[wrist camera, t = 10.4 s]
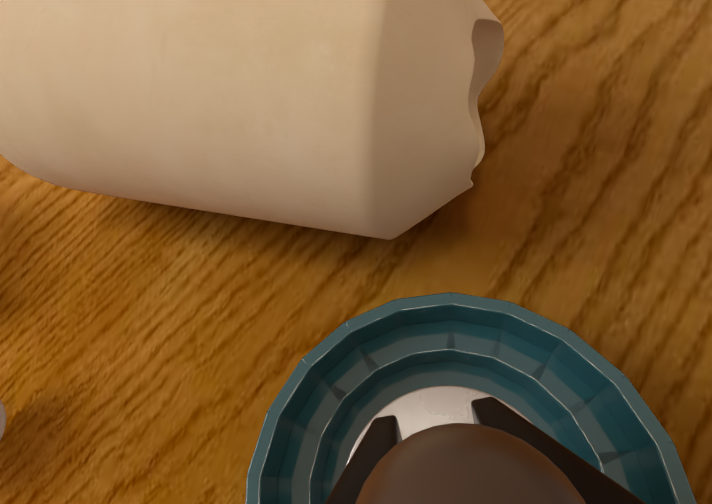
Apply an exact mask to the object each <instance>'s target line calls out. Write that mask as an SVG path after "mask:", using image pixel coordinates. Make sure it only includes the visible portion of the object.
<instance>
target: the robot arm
mask: <svg viewBox="0 0 712 504" xmlns="http://www.w3.org/2000/svg"><path fill="white" fill-rule="evenodd" d="M471 409H472V415H473V420H474V424H480V425H484V426H488V427H492V428H496V429H500V430H503V431H505V432H507V433H509V434H511V435H513V436H515V437H518V438H520V439H522V440H524V441H525V442H527V443H528V444H530V445H531V446H533V447H534V448H535V449H537V450H538V451H540V452H541V453H543V454H544V455H545V456H547V457H548V458H549V459H550V460H551V461H552V462H553V463H554V464H555V465H556V466H557V467H558V468H559V469H560V470H561V471H562V472H563V473H564V474H565V475H566V476H567V477H568V479H569V480H570V482H571V483H572V484H573V486H574V487H575V488H576V490H577V491H578V492H579V494H580V495H581V496H582V498H583V499H584V501H585V503H586V504H647V503H645V502H644V501H642V500H641V499H639V498H638V497H637V496H635V495H634V494H632V493H631V492H629V491H628V490H627V489H625V488H624V487H622V486H621V485H619V484H618V483H616V482H615V481H614V480H612V479H611V478H609V477H608V476H606V475H605V474H604V473H602V472H601V471H599V470H598V469H596V468H595V467H594V466H592V465H591V464H589V463H588V462H586V461H585V460H583V459H582V458H581V457H579V456H578V455H576V454H575V453H573V452H572V451H571V450H569V449H568V448H566V447H565V446H563V445H562V444H560V443H559V442H558V441H556V440H555V439H553V438H552V437H550V436H549V435H548V434H546V433H545V432H543V431H542V430H540V429H539V428H538V427H536V426H535V425H533V424H532V423H530V422H529V421H527V420H526V419H525V418H523V417H522V416H520V415H519V414H517V413H516V412H515V411H513V410H512V409H510V408H509V407H507V406H506V405H505V404H503V403H502V402H500V401H499V400H497V399H496V398H494V397H485V398H480V399H475V400H472V401H471ZM401 441H402V436H401V432H400V428H399V424H398V420H397V418H396V416H395V415H389V416H384V417H378V418H375V419H374V420H373V421H372V423H371V425H370V426H369V428H368V430H367V432H366V433H365V435H364V437H363V438H362V440H361V442H360V444H359V445H358V447H357V449H356V450H355V452H354V454H353V456H352V457H351V459H350V461H349V462H348V464H347V466H346V468H345V469H344V471H343V473H342V474H341V476H340V478H339V480H338V481H337V483H336V485H335V486H334V488H333V490H332V492H331V493H330V495H329V497H328V498H327V500H326V502H325V504H355V503H356V501H357V498H358V496H359V494H360V491H361V489H362V487H363V484H364V482H365V481H366V479H367V478H368V476H369V475H370V473H371V472H372V470H373V469H374V467H375V466H376V464H377V463H378V461H379V460H380V459H381V458H382V457H383V456H385V455H386V454H387V453H388V452H389V451H390V450H391V449H392V448H393V447H394V446H395V445H396V444H398V443H399V442H401Z"/></svg>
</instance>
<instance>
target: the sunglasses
mask: <svg viewBox="0 0 712 504" xmlns="http://www.w3.org/2000/svg"><path fill="white" fill-rule="evenodd" d="M5 425H6V411H5V407H4V405H3V403H2V402H1V400H0V440H1V438H2V436H3V433H4V429H5Z"/></svg>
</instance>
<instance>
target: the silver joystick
mask: <svg viewBox="0 0 712 504" xmlns="http://www.w3.org/2000/svg"><path fill="white" fill-rule="evenodd" d="M485 397H494V398H496V399H497V400H499V401H500V402H502V403H503V404H505V405H506V406H507V407H509V408H510V409H512V410H513V411H515V412H516V413H517V414H519V415H520V416H522V417H523V418H525V419H526V420H527V421H529V422H530V423H532V422H531V421H530V420H529V419H528V418H527V417H526V416H524V415H523V414H522V413H521V412H520V411H518V410H517V409H516V408H514V407H513V406H511V405H509V404H508V403H506V402H505V401H503V400H501V399H499V398H497V397H495V396H493V395H491V394H489V393H486V392H483V391H480V390H477V389H473V388H468V387H463V386H453V385H440V386H430V387H425V388H420V389H417V390H414V391H411V392H408V393H406V394H404V395H402V396H400V397H398V398H396V399H395V400H393V401H392V402H390V403H389V404H387V405H386V406H384V407H383V408H382V409H381V410H380V411H379V412H378V413H377V414H375V415H374V416H373V418H372V419H371V420H370V421H369V422H368V423H367V425H366V426H365V427H364V429H363V430H362V432H361V433H360V435H359V436H358V438H357V440H356V442H355V444H354V446H353V448H352V450H351V452H350V455H349V457H348V460H347V463H346V466H347V464H348V462H349V461H350V459H351V457H352V456H353V454H354V452H355V450H356V449H357V447H358V445H359V444H360V442H361V440H362V438H363V437H364V435H365V433H366V432H367V430H368V428H369V426H370V425H371V423H372V421H373V420H374V419H375V418H378V417H384V416H389V415H395V416H396V418H397V420H398V424H399V428H400V432H401V436H402V441H401V442H399V443H398V444H396V445H395V446H394V447H393V448H392V449H391V450H390V451H389V452H388V453H387V454H386V455H385V456H383V457H382V458H381V459H380V460H379V461H378V463H377V464H376V466H375V467H374V469H373V470H372V472H371V473H370V475H369V476H368V478H367V479H366V481H365V482H364V484H363V487H362V489H361V491H360V494H359V496H358V498H357V501H356V503H355V504H586V503H585V501H584V499H583V498H582V496H581V495H580V494H579V492H578V491H577V490H576V488H575V487H574V486H573V484H572V483H571V482H570V480H569V479H568V477H567V476H566V475H565V474H564V473H563V472H562V471H561V470H560V469H559V468H558V467H557V466H556V465H555V464H554V463H553V462H552V461H551V460H550V459H549V458H548V457H547V456H545V455H544V454H543V453H541V452H540V451H538V450H537V449H535V448H534V447H533V446H531V445H530V444H528V443H527V442H525V441H524V440H522V439H520V438H518V437H515V436H513V435H511V434H509V433H507V432H505V431H503V430H500V429H496V428H492V427H488V426H484V425H480V424H474V420H473V415H472V409H471V401H472V400H475V399H480V398H485ZM532 424H533V423H532ZM533 425H534V424H533ZM346 466H345V468H346Z"/></svg>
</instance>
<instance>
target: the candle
mask: <svg viewBox="0 0 712 504" xmlns="http://www.w3.org/2000/svg"><path fill="white" fill-rule="evenodd" d="M503 47H504V32H503V28H502V25H501V22H500V21H499V20H498V19H497V18H496V16H495V15H494V14H493V13H492V12H491V11H490V9H489V8H488V7H487V5H486V4H485V2H484V1H483V0H0V154H1V155H2V156H3V157H4V158H5V159H7V160H8V161H9V162H11V163H12V164H13V165H15V166H16V167H18V168H19V169H21V170H23V171H24V172H26V173H28V174H30V175H32V176H34V177H36V178H39V179H41V180H44V181H46V182H49V183H51V184H54V185H57V186H61V187H65V188H69V189H74V190H79V191H85V192H90V193H96V194H102V195H108V196H115V197H121V198H127V199H133V200H140V201H146V202H152V203H159V204H165V205H171V206H178V207H184V208H190V209H197V210H203V211H209V212H215V213H222V214H228V215H234V216H241V217H247V218H253V219H260V220H266V221H272V222H279V223H285V224H291V225H297V226H304V227H310V228H316V229H323V230H329V231H335V232H342V233H348V234H354V235H361V236H367V237H373V238H380V239H387V240H393V239H394V238H396V237H398V236H399V235H401V234H402V233H404V232H405V231H407V230H408V229H410V228H411V227H413V226H414V225H416V224H417V223H419V222H420V221H422V220H423V219H425V218H426V217H428V216H429V215H431V214H432V213H433V212H435V211H436V210H438V209H439V208H440V207H442V206H443V205H445V204H446V203H448V202H449V201H450V200H452V199H453V198H455V197H456V196H458V195H459V194H461V193H463V192H464V191H466V190H468V189H469V188H471V187H472V186H473V182H472V181H471V174H472V171H473V169H474V168H475V167H476V166H477V165H478V164H479V163H480V162H481V160H482V158H483V156H484V151H485V142H484V136H483V131H482V126H481V122H480V118H479V113H478V108H477V103H478V97H479V95H480V93H481V91H482V89H483V88H484V87H485V86H486V84H487V83H488V82H489V80H490V79H491V77H492V76H493V75H494V73H495V72H496V70H497V68H498V66H499V64H500V62H501V58H502V54H503Z"/></svg>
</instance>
